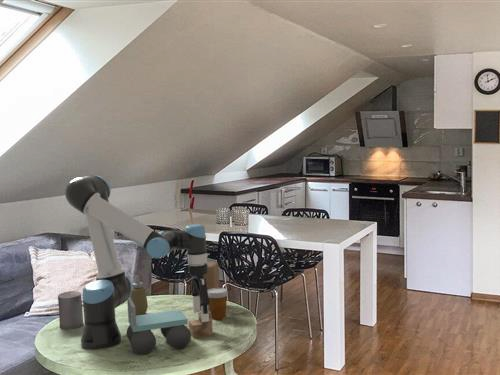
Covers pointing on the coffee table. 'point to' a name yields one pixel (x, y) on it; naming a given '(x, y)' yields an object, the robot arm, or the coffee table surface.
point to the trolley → (167, 321)
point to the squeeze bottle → (139, 297)
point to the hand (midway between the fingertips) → (201, 316)
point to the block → (211, 277)
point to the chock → (201, 327)
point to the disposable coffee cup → (217, 302)
